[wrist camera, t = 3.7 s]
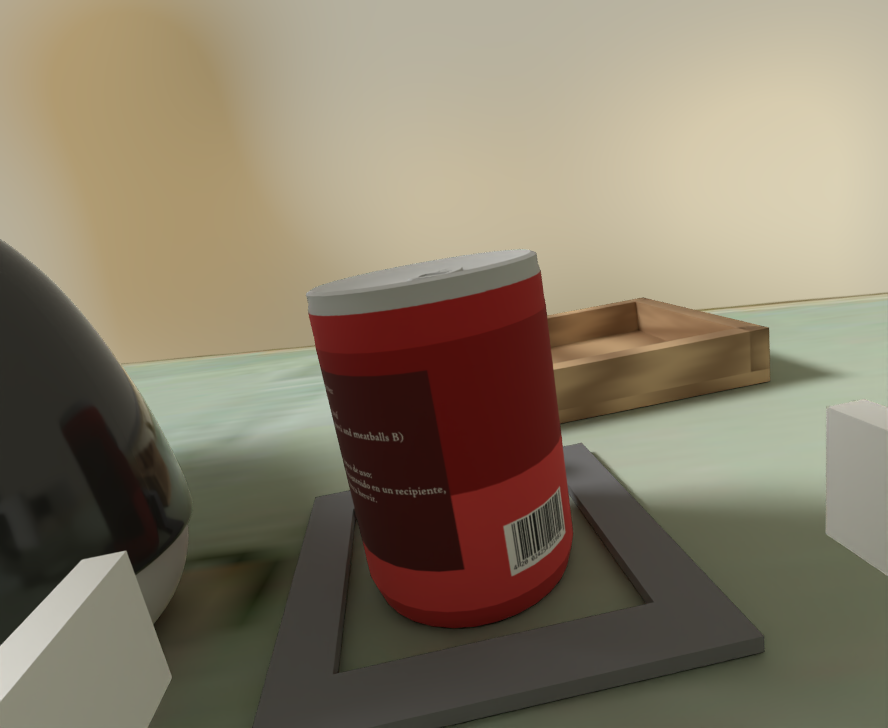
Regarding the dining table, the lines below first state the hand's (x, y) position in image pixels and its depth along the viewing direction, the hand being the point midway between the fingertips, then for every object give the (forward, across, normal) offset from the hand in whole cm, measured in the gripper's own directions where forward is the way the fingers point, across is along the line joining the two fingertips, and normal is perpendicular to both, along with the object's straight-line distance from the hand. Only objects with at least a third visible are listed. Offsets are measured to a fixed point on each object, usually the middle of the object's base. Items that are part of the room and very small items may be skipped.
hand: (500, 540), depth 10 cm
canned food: (+9, 0, -7) cm, 11 cm away
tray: (+28, +10, -6) cm, 30 cm away
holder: (+9, 0, -6) cm, 11 cm away
